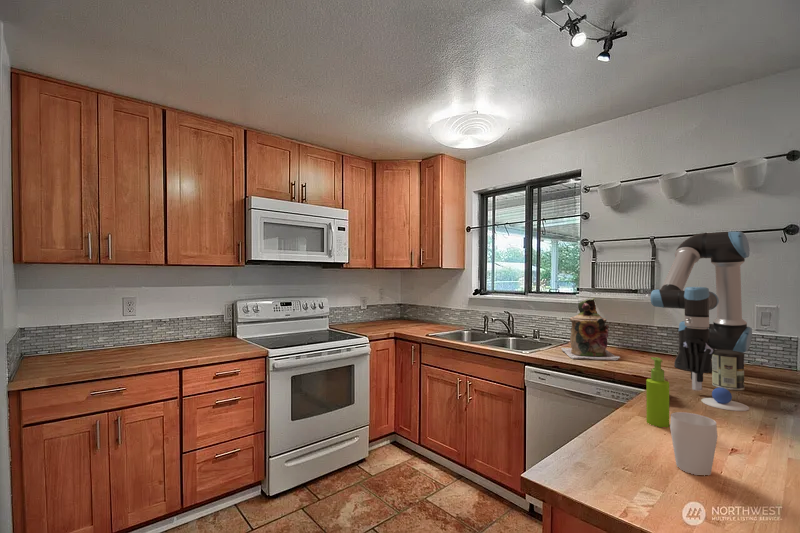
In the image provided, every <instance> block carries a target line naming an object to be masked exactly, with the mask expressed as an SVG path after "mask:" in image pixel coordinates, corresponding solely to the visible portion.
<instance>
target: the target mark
mask: <svg viewBox="0 0 800 533" xmlns="http://www.w3.org/2000/svg"><path fill="white" fill-rule="evenodd" d="M700 402H702V403H703V404H705V405H706V406H709V407H712V408H715V409H721V410H727V411H731V412H732V411H734V412H735V411H736V412H745V411H746V412H747V411H749V410H750V407H749V405H746V404H744V403H742V402H739V401H735V400H731V401H730V402H729V403H726V404H722V403H719V402H717V401H715V400H714V398H713V397H703V398H701V401H700Z"/></svg>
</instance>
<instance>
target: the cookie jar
mask: <svg viewBox="0 0 800 533" xmlns="http://www.w3.org/2000/svg"><path fill="white" fill-rule="evenodd" d="M595 299H596V298H595V297H593V298H592V299H591V298H590V299H585V300H582V301H580V302H579V303H578V310H579V311H578V312H579V313H578V314H576V315H574V316H571V317H570V318H569V320H570V322H571V329H570V337H569V341H570V346H571V347H567V348H566V347H561V348H560V349H561V351H562V352H564V354H566V355H567V356H568V357H569V358H571V359H572V360H573V359H588V360H589V359H590V360H599V361H601V360H604V361H605V360H606V361H609V360H610V361H618V360H620V358H621V356H619V355H615V354H613V353H612V352H611V351H609V350H608V349H607V347H608V338H609V332H610V331H609V330H610V327H609V325H608V324H606V322H607V319H606V318H604V317H602V316H601V315H600V314H599V313H598V312H597V306H596V303H595V302H596V301H595ZM605 324H606V325H605Z"/></svg>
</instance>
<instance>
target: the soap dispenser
mask: <svg viewBox="0 0 800 533" xmlns="http://www.w3.org/2000/svg"><path fill="white" fill-rule="evenodd" d="M650 359H651V360H653V361H654V362H653V365H654V366H653V367H652V368H651V369H650V378H647V379H646V380H645V381H646V383H645V384H646V396H645V397H646V398H645V399H646V403H645V404H646V408H645V410H646V423H647V424H648V423H649V424H648V425H650V424H651V425H650V426H652V425H654V426H653V427H656V426H658V427H657V428H662V427H666V428H670V382H669V381H668V382H667V381H665V380H664V377H665V369H663V368H662V363H663V359H662V358H660V357H656V356H655V357H653V356H651V357H650Z"/></svg>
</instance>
